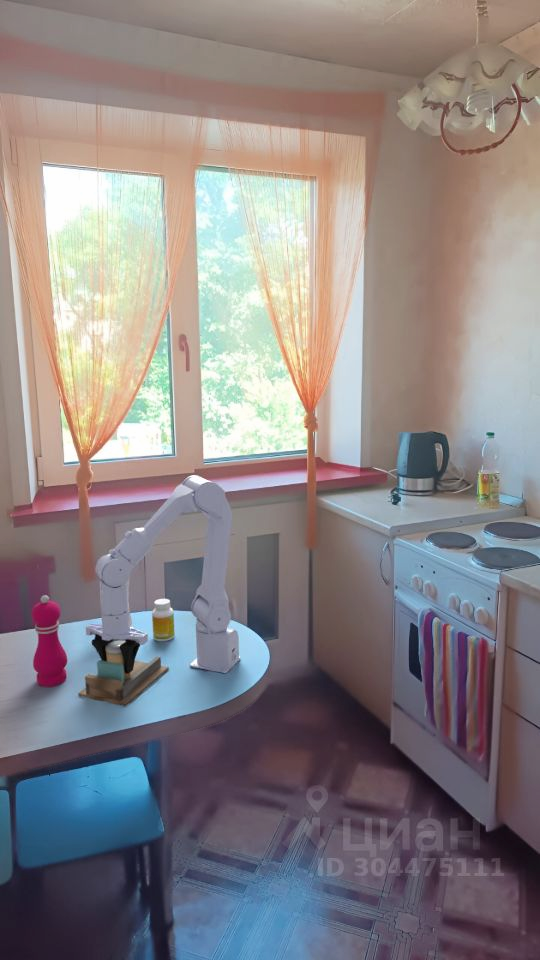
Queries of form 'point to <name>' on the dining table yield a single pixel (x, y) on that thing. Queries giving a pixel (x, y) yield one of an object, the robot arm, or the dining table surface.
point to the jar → (116, 655)
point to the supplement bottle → (163, 620)
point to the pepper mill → (48, 644)
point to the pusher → (110, 670)
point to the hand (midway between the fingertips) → (118, 669)
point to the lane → (121, 691)
